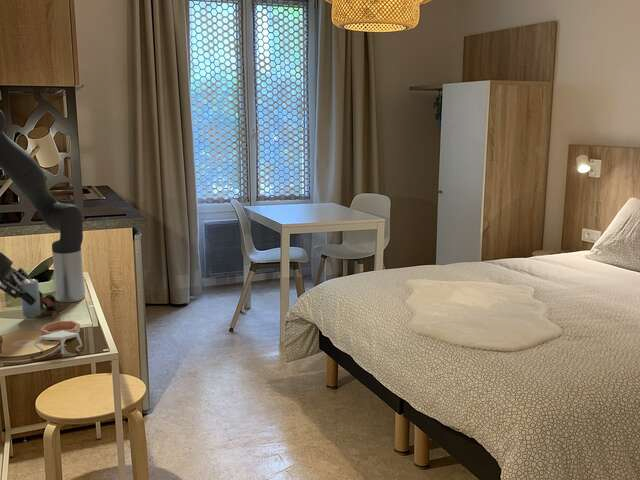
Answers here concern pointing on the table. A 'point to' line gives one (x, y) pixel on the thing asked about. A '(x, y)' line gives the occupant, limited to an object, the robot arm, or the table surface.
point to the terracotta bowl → (60, 327)
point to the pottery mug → (49, 305)
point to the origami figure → (59, 338)
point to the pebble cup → (33, 290)
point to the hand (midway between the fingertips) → (37, 299)
